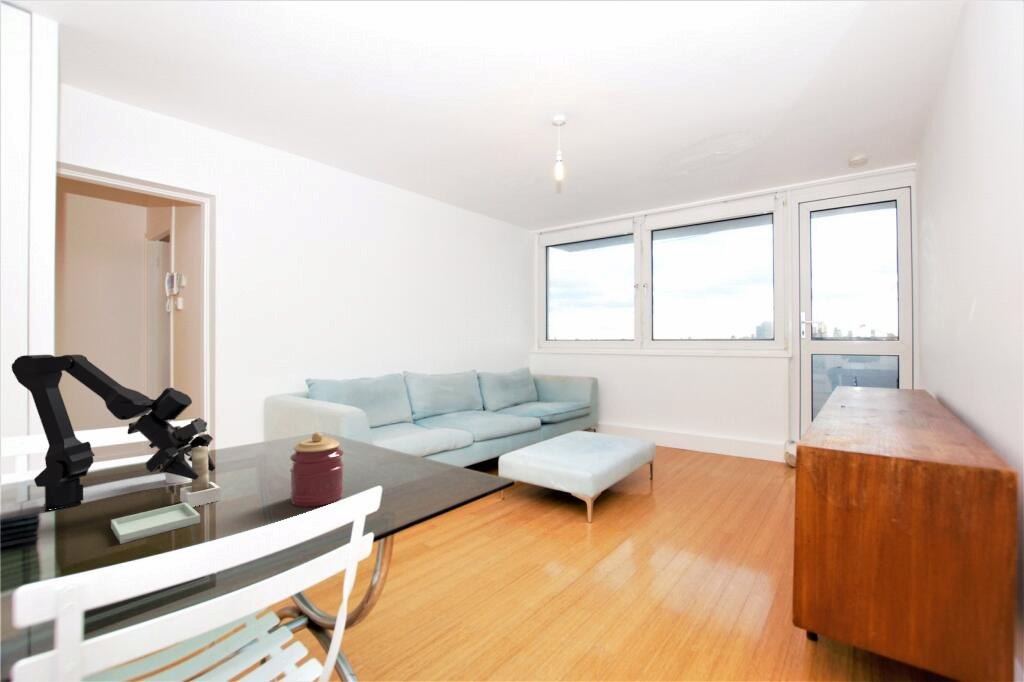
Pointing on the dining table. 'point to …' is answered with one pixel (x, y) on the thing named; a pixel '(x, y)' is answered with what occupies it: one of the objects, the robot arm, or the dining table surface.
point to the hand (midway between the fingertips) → (205, 473)
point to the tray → (154, 522)
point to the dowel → (200, 468)
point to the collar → (200, 495)
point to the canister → (316, 472)
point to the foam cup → (176, 478)
